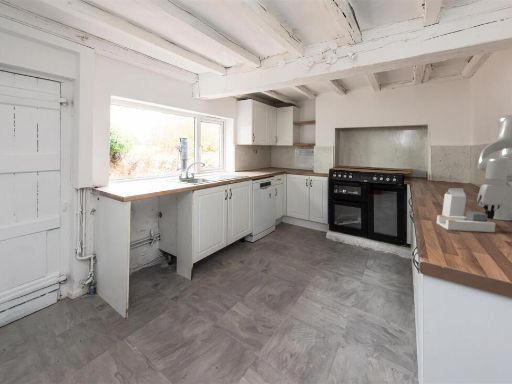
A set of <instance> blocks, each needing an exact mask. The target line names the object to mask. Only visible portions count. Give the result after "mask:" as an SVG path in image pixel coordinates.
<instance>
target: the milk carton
mask: <svg viewBox="0 0 512 384" xmlns="http://www.w3.org/2000/svg"><path fill="white" fill-rule="evenodd" d="M466 202H467V195H466V193H465V191H464V188H462V187H461V188H460V187H459V188H458V187H457V188H456V187H454V188H453V187H452V188H450V187H449V188H448V190H447V191H446V192H445V193H444V198H443V205H442V212H441V213H442V214H441V215H444V216H463V217H465V210H466V209H465V208H466V204H467V203H466Z"/></svg>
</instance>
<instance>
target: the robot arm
mask: <svg viewBox="0 0 512 384" xmlns="http://www.w3.org/2000/svg"><path fill="white" fill-rule="evenodd" d="M497 127H498V131H497V134H496V138H495V140H494V141H492V142H490V143H489V144H488V145H487V146H485V147H484V148H483V149H482V151H481V152H480V154H479V157H478V161H477V169H478V170H479V171H482V172H485V174H484V175H485V176H484V182H483V184H481V186H480V188H479V192H478V194H477V199H476V203H478V204H477V207H481V208H483V209H484V210H485V212H484V214H487V215H488V217H487V219H489V220H490V219H491V220H493V219H494V220H497V221H512V184H511V183H512V114H509V115H508V114H507V115H503V116H502V117H499V119H498V120H497ZM496 152H499V155H498V156H490V155H492V154H493V153H496Z"/></svg>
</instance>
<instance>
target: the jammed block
mask: <svg viewBox="0 0 512 384" xmlns="http://www.w3.org/2000/svg"><path fill="white" fill-rule="evenodd" d="M465 217H466V220H465V221H482V222H488V218H487V217H488V215H487V214H485V212H484V213H483V212H482V211H481V212H480V211H466V213H465Z"/></svg>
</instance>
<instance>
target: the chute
mask: <svg viewBox="0 0 512 384" xmlns="http://www.w3.org/2000/svg"><path fill="white" fill-rule="evenodd" d="M436 217H437V218H436V224H437V225H439V226H440V227H442V228H444V229H446V230H448V231H449V230H450V231H463V232H465V231H466V232H482V233H483V232H487V233H495V232H496V223H495V222H493V221H487V222H482V221H465V220H466V216H464V217H463V216H444V215H442V214H437V216H436Z"/></svg>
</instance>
